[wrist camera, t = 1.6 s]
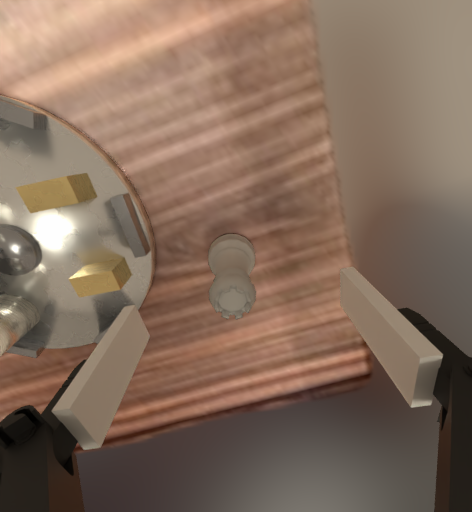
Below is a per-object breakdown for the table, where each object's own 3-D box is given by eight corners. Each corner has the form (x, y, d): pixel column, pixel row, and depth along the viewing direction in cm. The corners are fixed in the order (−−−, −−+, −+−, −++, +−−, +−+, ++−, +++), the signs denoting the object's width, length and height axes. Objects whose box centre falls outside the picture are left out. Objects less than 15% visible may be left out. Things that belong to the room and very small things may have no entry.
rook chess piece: (204, 235, 21) (191, 279, 14) (251, 228, 21) (263, 268, 14) (213, 277, 23) (205, 334, 16) (257, 270, 23) (270, 326, 16)
